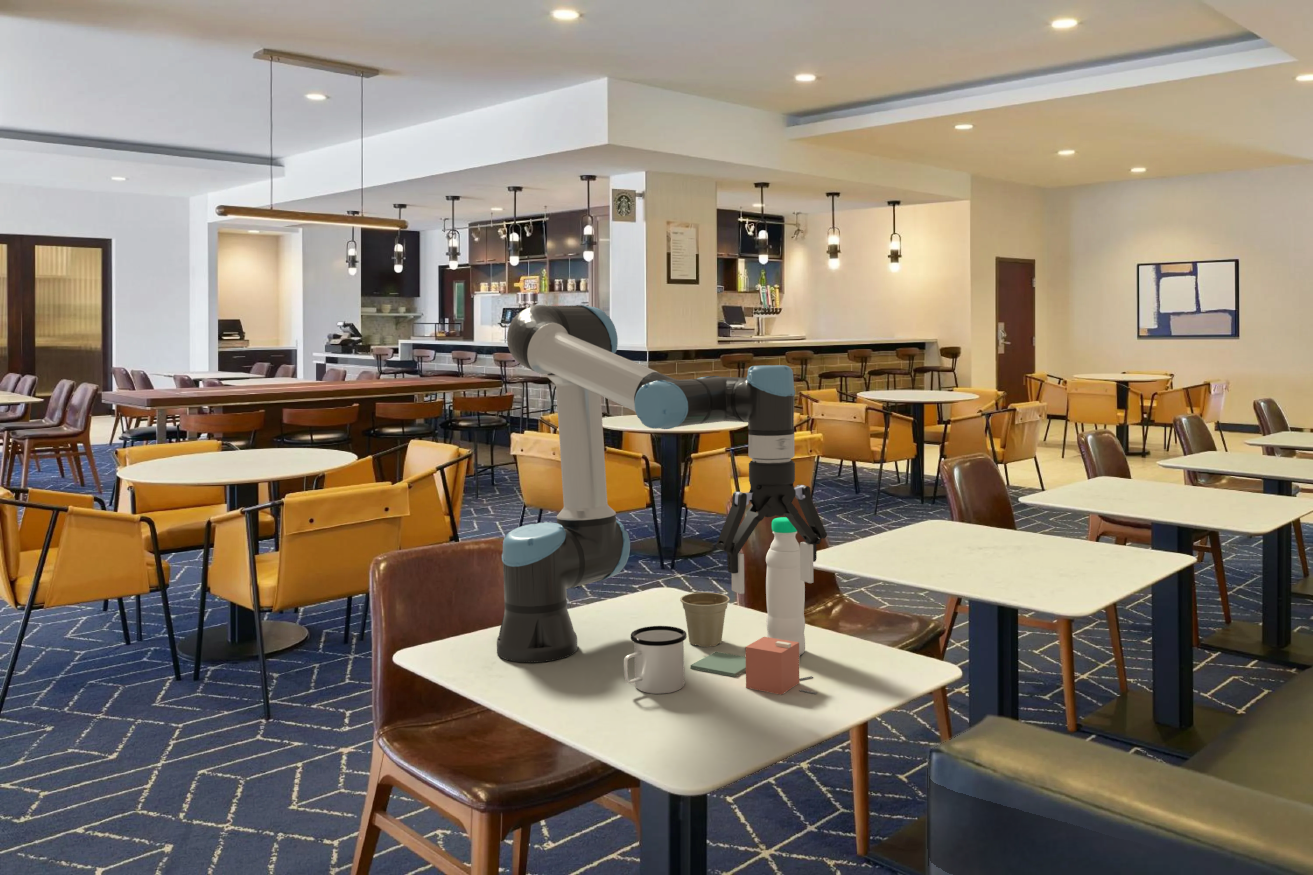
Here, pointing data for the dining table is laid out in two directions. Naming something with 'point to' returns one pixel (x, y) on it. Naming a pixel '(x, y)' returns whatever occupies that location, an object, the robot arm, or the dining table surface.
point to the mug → (657, 659)
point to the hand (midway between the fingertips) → (773, 586)
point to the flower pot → (705, 617)
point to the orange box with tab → (772, 665)
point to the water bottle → (785, 585)
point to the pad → (721, 664)
